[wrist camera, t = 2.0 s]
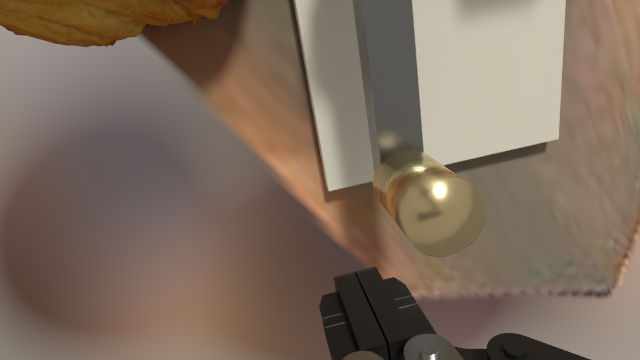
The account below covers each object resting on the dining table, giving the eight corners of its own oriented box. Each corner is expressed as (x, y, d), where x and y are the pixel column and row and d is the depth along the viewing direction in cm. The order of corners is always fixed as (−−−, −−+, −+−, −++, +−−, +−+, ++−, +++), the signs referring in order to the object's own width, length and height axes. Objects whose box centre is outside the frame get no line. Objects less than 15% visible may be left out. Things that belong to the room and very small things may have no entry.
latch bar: (317, -136, 18) (355, -222, 12) (403, -148, 18) (484, -237, 12) (365, 206, 24) (406, 266, 18) (429, 191, 24) (491, 245, 18)
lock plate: (265, -155, 21) (275, -236, 15) (594, -200, 23) (731, -289, 17) (326, 186, 28) (350, 232, 22) (573, 130, 30) (662, 157, 24)
